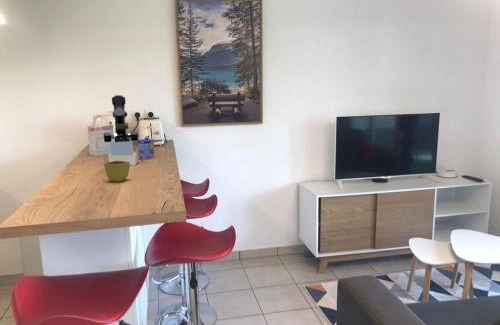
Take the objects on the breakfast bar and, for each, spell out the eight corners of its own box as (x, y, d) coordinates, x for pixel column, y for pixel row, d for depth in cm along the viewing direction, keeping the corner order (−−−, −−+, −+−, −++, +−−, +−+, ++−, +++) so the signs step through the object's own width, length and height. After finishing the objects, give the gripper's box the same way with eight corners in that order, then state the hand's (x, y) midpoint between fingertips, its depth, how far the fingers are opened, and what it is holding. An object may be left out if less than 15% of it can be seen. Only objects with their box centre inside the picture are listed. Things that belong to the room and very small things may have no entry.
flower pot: (131, 179, 201) (130, 161, 199) (120, 183, 193) (119, 164, 191) (116, 178, 204) (115, 160, 202) (104, 182, 196) (103, 163, 194)
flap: (111, 154, 230) (110, 142, 229) (133, 153, 234) (132, 141, 233) (111, 154, 230) (110, 142, 229) (133, 153, 233) (132, 141, 232)
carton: (109, 162, 243) (108, 152, 242) (135, 161, 248) (135, 150, 246) (108, 166, 231) (108, 155, 230) (136, 165, 236) (136, 153, 235)
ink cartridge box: (145, 160, 250) (144, 136, 247) (138, 159, 252) (136, 136, 250) (155, 157, 259) (153, 134, 256) (147, 157, 261) (146, 134, 258)
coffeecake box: (109, 152, 280) (106, 124, 276) (115, 153, 276) (113, 124, 272) (89, 155, 268) (86, 126, 264) (95, 156, 264) (93, 126, 260)
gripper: (102, 118, 231) (103, 140, 223) (136, 117, 236) (138, 139, 228) (103, 130, 240) (104, 152, 231) (136, 129, 245) (138, 150, 237)
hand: (121, 148), depth 232 cm, fingers closed, pressing on flap
